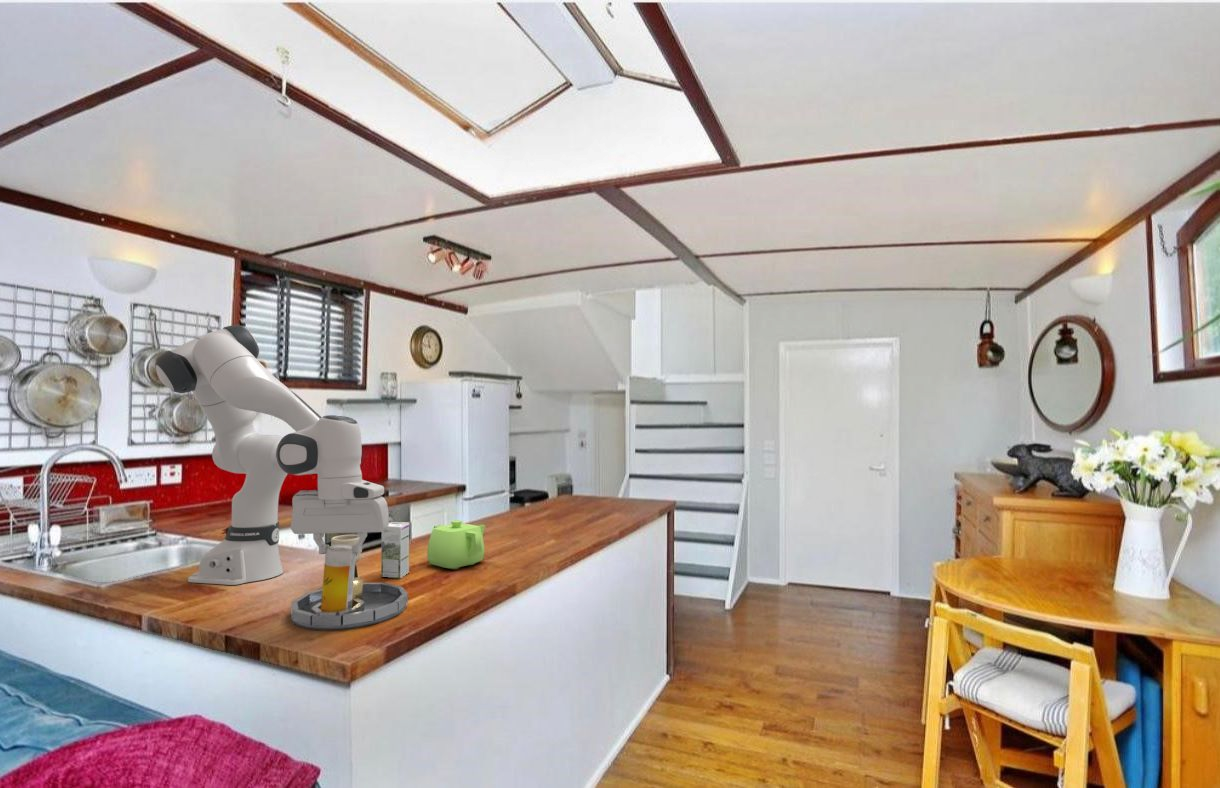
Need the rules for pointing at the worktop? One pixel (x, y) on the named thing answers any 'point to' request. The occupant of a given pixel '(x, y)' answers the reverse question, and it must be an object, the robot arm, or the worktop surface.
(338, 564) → the beer can
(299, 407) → the robot arm
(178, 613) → the worktop surface
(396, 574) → the syrup box
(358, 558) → the character mug
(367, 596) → the tray
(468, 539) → the teapot
